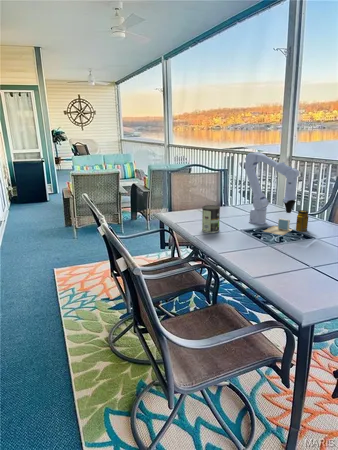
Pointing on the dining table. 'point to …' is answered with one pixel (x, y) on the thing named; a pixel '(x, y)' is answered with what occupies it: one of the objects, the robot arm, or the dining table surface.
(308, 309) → the dining table surface
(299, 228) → the condiment
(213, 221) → the coffee can
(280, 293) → the dining table surface
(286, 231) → the mat
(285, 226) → the block
